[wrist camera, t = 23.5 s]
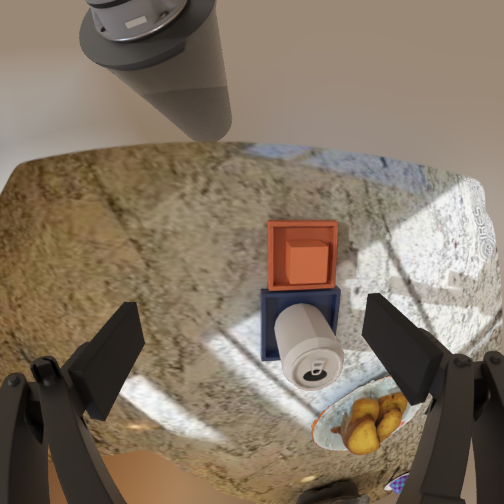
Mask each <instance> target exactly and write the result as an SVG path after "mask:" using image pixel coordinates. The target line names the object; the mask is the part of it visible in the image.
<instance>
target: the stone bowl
mask: <svg viewBox="0 0 504 504" xmlns="http://www.w3.org/2000/svg"><path fill="white" fill-rule="evenodd" d="M369 502H370V498H369V497H368V496H367V494H362V495H359V494H358V488H357V487H356V486H355V484H354V483H352V482H349V481H344V482H336V483H334V484H332V485H330V486H329V488H324V489H322V490H320V491H318V490H315V489H311V490H308V491H305V492H304V493H303V494H302V495H300V497H299V499H298V501H297V503H296V504H367V503H369Z"/></svg>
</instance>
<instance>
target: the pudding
mask: <svg viewBox="0 0 504 504" xmlns="http://www.w3.org/2000/svg"><path fill="white" fill-rule="evenodd" d="M408 474H409V473H407V474H404V475H402V476H400V477H398V478H396V479H395V480H393V481H392V482H390V483H389V484H388V485H387V486H386V487H385V490H392V489H393V490H394V492H396V493H397V494H400V493H401V491H402V489H403V487H404V484H405V482H406V479H407V477H408Z"/></svg>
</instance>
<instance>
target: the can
mask: <svg viewBox="0 0 504 504" xmlns="http://www.w3.org/2000/svg"><path fill="white" fill-rule="evenodd" d="M274 329H275V335H276V340H277V345H278V349H279V354H280V359H281V363H282V368H283V373H284V375H285V377H286V378H287V380H288V381H290V382H291V383H293V384H294V385H295V386H296V387H298V388H299V389H303V390H306V391H314V390H319V389H322V388H325V387H327V386H329V385H330V384H332V383H333V382H334V381H335V380H336V379H337V378H338V377H339V375H340V374H341V371H342V368H343V362H344V352H343V350H342V347H341V345H340V344H339V342H338V340H337V338H336V337H335V335H334V333H333V331H332V330H331V328H330V326H329V325H328V323H327V321H326V320H325V318H324V316H323V314H322V313H321V311H320V310H318V309H317V308H316V307H315V306H312V305H310V304H303V303H300V304H295V305H292V306H290V307H288V308H286V309H285V310H284V311H282V312H281V313H280V314H279V316H278V318H277V319H276V322H275V327H274Z"/></svg>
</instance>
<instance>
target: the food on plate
mask: <svg viewBox="0 0 504 504" xmlns="http://www.w3.org/2000/svg"><path fill="white" fill-rule="evenodd" d="M421 405H422V403H420V404H417V405H414V406H411V405H410V404H409V402H408V401H407V399H406V398H405V396H404V395H403V393H402V392H401V390H400V389H399V387H398V386H397V384H396V383H395V382H394V380H393V379H392V377H391V376H387V377H384V378H381V379H378V380H377V381H376V382H374V380H371V381H370V383H367V384H366V385H365V386H362V387H359V388H357V389H355V390H354V391H352V392H351V393H350V394H347V395H346V396H345V397H344V398H342V399H340V400H339V401H338V402H335V403H334V404H333V405H331V406H328V409H326V410H324V411H323V412H322V413H321V414H320V415H319V418H318V420H315V421H314V422H313V425H312V426H311V427H312V430H313V431H312V432H311V434H312V436H313V441H314V442H315V443H316V444H317V445H318V446H320V447H322V448H324V449H327V450H335V451H338V450H339V451H350V452H351V453H353V454H356V455H365V454H369V453H372V452H373V451H376V450H378V449H379V448H380V442H382V441H383V440H384V439H386V438H388V437H389V436H390V435H391V434H393V433H394V432H396V431H397V430H398V429H400V428H401V427H402V426H403V425H405V424H406V423H407V422H409V421H410V420H411V419H412V417H413V416H414V415H415V414H416V412H417V410H418V409H419V408H420V406H421Z"/></svg>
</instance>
